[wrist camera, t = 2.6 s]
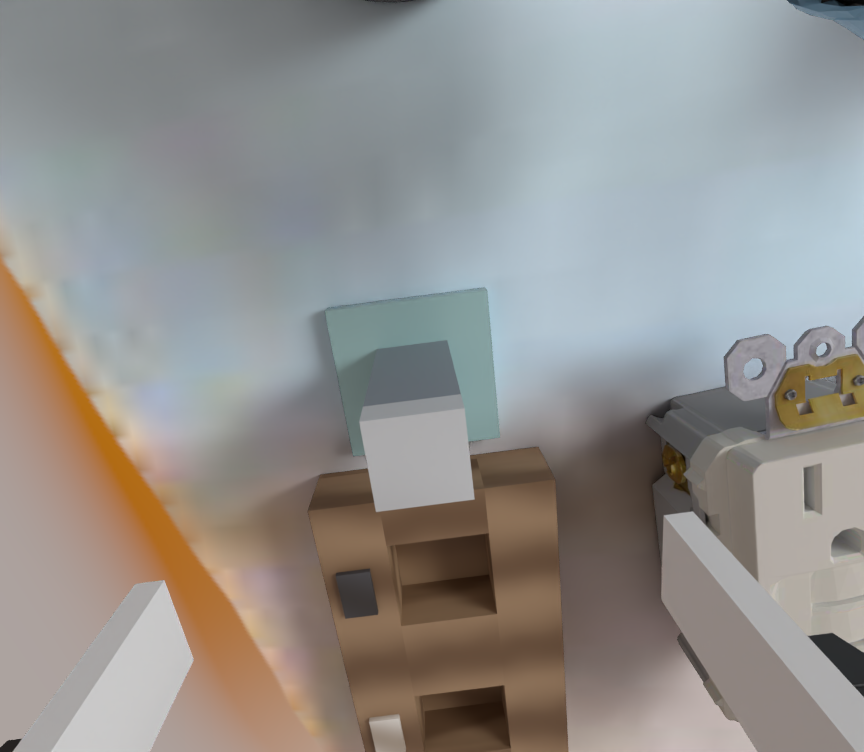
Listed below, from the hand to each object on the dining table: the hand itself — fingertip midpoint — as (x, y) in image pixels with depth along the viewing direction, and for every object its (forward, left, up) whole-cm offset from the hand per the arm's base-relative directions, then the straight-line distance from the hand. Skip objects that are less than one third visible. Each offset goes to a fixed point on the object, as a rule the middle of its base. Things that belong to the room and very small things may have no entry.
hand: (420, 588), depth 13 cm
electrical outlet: (+12, +20, -18) cm, 29 cm away
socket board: (+18, 0, -18) cm, 25 cm away
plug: (0, 0, -17) cm, 17 cm away
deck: (0, 0, -18) cm, 18 cm away
